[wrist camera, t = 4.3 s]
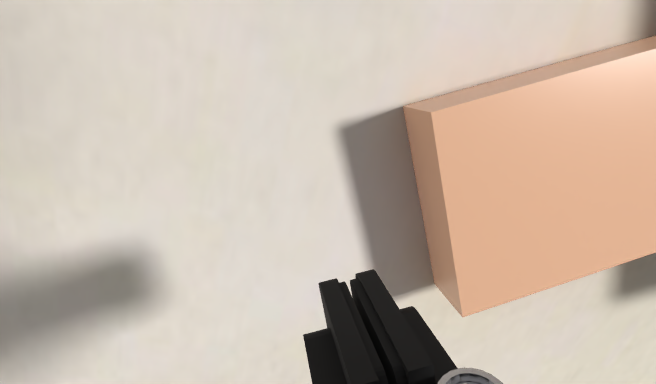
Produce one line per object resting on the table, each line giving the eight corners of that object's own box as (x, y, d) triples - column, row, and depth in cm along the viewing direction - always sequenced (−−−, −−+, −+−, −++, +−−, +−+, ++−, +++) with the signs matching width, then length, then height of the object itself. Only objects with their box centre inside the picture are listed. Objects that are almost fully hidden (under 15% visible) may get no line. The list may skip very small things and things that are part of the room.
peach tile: (399, 105, 18) (430, 112, 15) (657, 33, 19) (738, 24, 16) (431, 279, 21) (462, 317, 18) (649, 209, 23) (716, 232, 19)
